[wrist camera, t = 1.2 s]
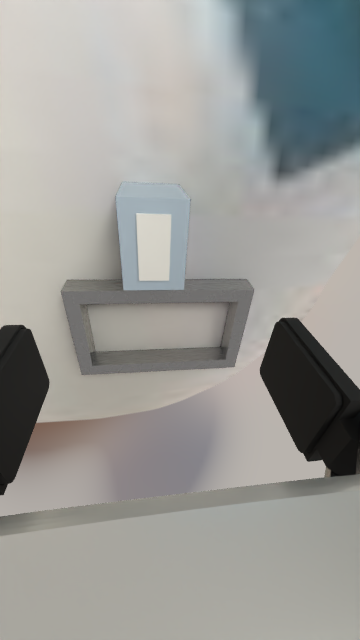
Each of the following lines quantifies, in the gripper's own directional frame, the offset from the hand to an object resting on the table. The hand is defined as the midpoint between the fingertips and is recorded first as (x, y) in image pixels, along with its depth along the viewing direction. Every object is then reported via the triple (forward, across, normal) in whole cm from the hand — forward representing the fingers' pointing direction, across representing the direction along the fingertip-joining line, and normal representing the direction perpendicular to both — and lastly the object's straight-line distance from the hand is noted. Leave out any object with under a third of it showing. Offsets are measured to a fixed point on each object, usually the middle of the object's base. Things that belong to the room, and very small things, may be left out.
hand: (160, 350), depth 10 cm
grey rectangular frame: (+18, -1, +12) cm, 22 cm away
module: (+18, 0, 0) cm, 18 cm away
